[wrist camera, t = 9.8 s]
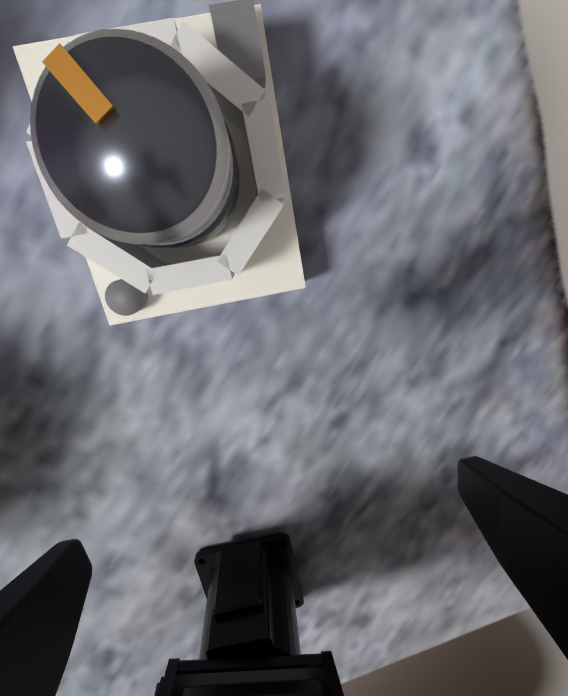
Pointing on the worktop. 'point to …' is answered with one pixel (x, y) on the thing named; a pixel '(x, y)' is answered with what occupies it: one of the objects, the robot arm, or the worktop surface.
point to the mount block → (254, 181)
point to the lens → (134, 140)
